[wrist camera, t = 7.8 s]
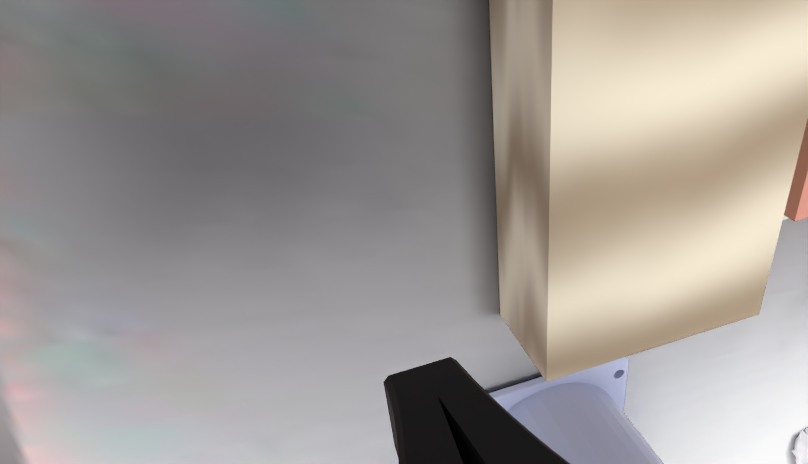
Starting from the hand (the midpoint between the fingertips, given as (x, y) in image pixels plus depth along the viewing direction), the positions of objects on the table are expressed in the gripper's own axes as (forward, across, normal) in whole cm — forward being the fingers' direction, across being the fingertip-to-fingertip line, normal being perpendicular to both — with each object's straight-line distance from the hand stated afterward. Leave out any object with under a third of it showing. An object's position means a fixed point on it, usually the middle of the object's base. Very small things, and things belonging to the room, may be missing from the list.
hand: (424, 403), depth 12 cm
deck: (+10, -10, +1) cm, 15 cm away
